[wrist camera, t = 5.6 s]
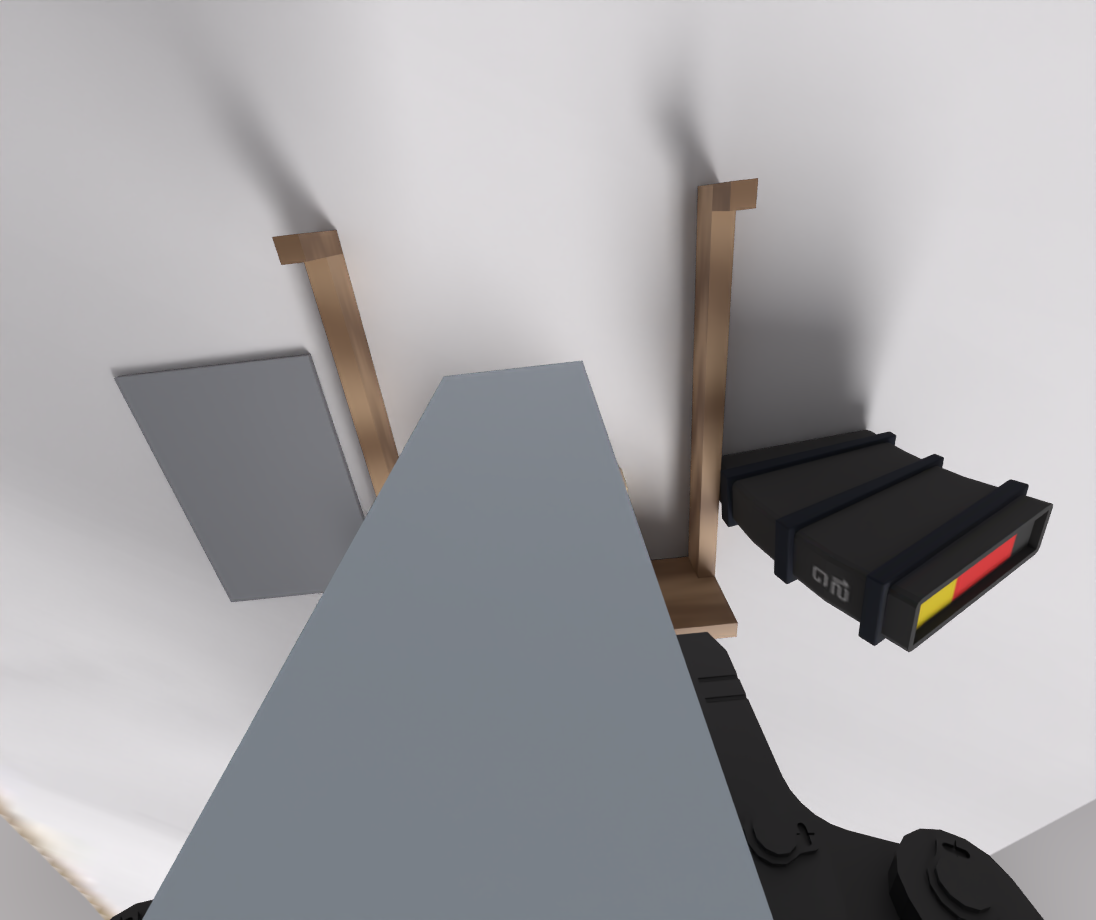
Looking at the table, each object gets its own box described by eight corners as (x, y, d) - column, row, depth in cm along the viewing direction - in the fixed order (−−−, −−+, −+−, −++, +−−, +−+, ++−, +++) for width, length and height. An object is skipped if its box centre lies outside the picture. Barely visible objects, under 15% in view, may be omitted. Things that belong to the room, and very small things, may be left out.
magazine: (669, 472, 32) (913, 599, 20) (808, 407, 37) (1078, 479, 24) (673, 519, 34) (901, 664, 22) (806, 451, 39) (1057, 540, 26)
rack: (703, 567, 38) (736, 636, 32) (421, 596, 39) (400, 670, 33) (720, 183, 27) (777, 175, 20) (315, 232, 27) (249, 239, 21)
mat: (385, 582, 38) (384, 586, 38) (234, 598, 38) (231, 602, 38) (310, 354, 30) (307, 355, 30) (118, 375, 30) (114, 378, 30)
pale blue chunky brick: (604, 648, 17) (733, 1421, 6) (502, 659, 17) (449, 1440, 6) (582, 360, 12) (917, 1338, 2) (443, 376, 12) (-129, 1408, 2)
